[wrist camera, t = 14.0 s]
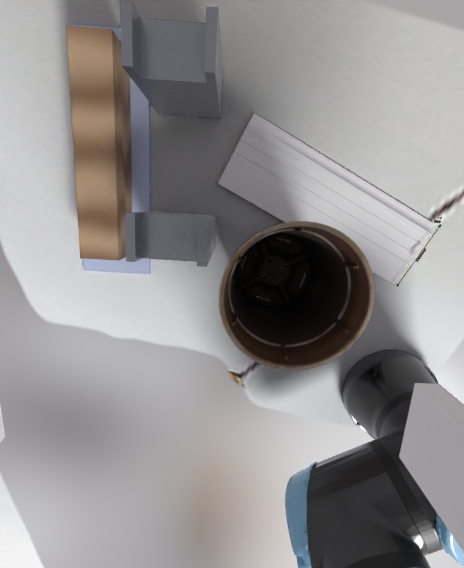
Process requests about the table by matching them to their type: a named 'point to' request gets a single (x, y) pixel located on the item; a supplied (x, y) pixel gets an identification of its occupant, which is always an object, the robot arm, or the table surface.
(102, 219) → the oak rail
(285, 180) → the baseboard molding
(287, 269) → the plant pot
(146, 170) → the felt pad
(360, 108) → the table surface
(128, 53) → the stand
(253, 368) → the table surface
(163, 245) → the stand
